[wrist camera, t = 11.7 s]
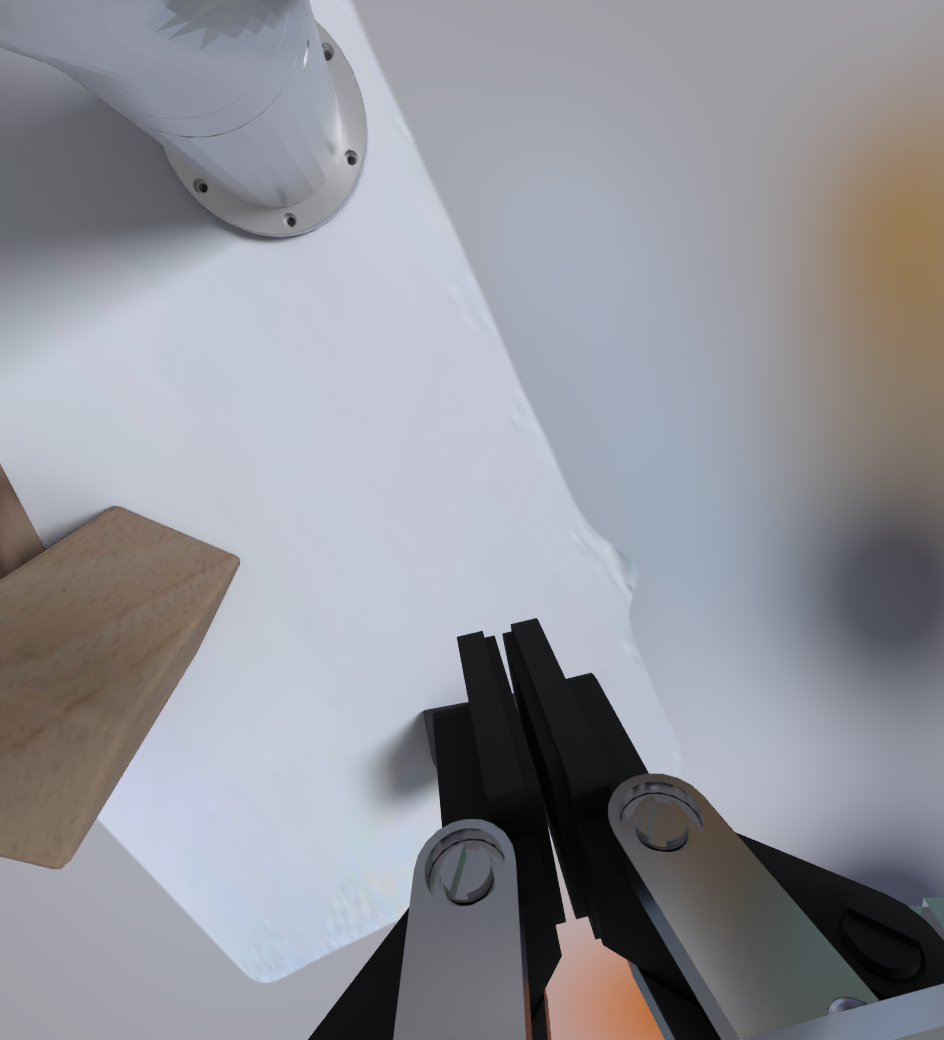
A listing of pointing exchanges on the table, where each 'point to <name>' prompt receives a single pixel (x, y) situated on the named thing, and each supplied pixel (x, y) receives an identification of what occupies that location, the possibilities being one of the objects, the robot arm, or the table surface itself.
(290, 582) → the table surface
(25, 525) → the walnut board
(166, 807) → the table surface
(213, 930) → the table surface
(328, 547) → the table surface
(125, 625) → the wooden block
